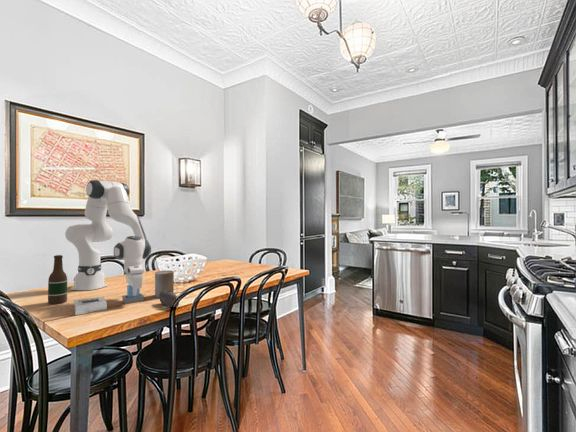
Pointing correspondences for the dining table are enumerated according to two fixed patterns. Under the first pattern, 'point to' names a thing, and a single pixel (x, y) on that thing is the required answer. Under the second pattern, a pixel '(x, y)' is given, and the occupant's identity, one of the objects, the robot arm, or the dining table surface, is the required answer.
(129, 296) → the plug
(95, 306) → the block
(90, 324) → the dining table surface
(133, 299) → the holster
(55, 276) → the beer bottle
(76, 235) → the robot arm
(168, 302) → the perforated stone tool
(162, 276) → the pillar candle
